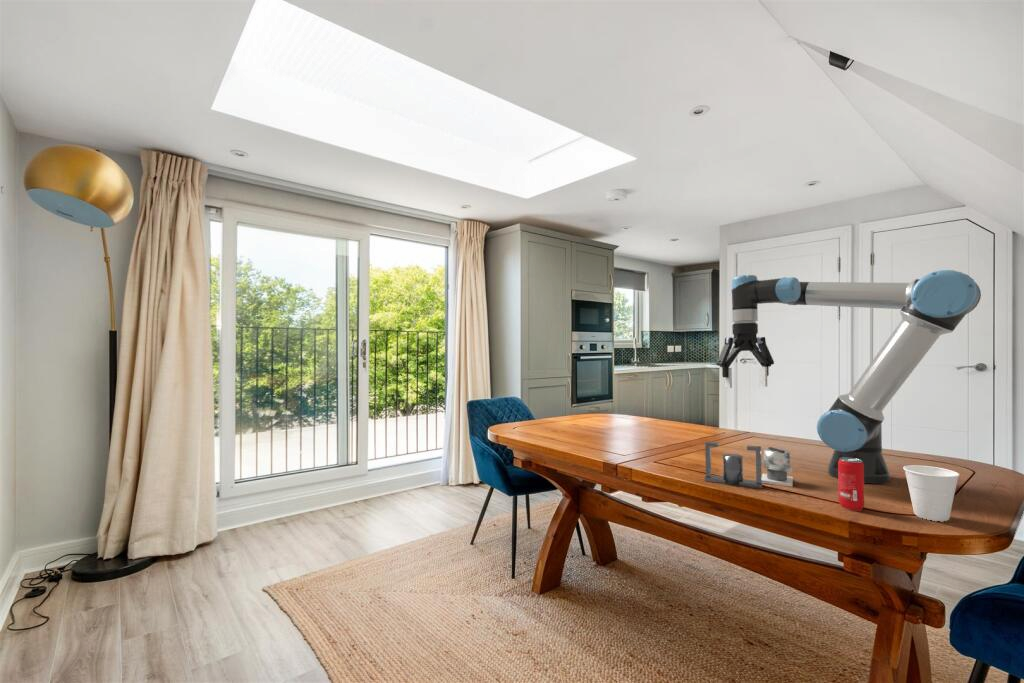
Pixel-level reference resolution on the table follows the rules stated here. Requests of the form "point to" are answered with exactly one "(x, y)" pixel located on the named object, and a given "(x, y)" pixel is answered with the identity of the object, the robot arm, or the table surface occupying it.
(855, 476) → the beverage can
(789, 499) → the table surface
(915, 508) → the cup
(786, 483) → the stand
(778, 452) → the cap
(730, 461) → the gray u-shaped frame
